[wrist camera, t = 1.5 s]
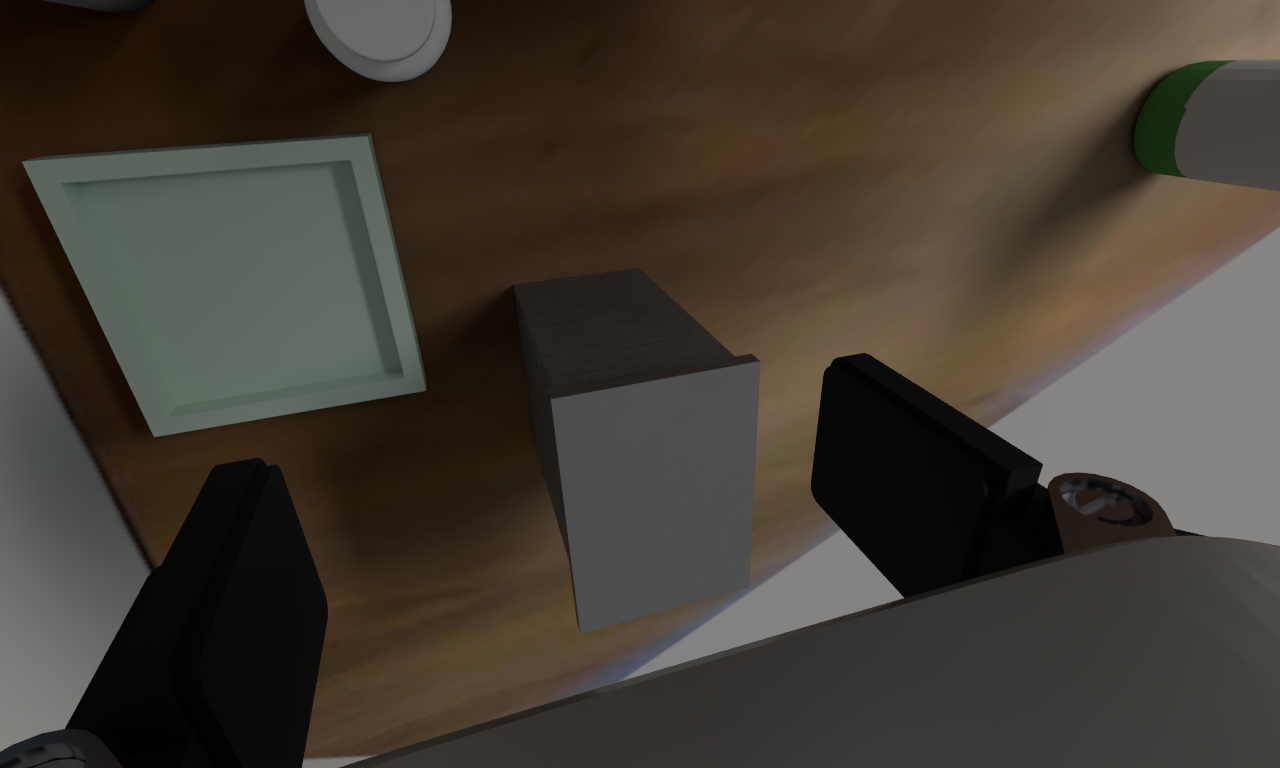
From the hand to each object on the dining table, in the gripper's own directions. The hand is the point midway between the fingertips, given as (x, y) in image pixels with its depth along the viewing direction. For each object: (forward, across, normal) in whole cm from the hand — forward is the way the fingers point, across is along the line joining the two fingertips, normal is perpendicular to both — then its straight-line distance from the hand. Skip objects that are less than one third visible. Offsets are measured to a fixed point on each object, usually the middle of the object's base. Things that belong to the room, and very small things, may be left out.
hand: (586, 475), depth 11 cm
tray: (+28, +12, +4) cm, 30 cm away
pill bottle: (+28, +3, -9) cm, 30 cm away
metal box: (+28, -6, +11) cm, 31 cm away
